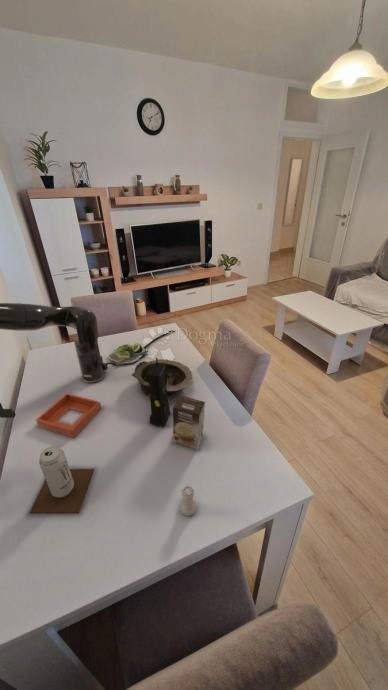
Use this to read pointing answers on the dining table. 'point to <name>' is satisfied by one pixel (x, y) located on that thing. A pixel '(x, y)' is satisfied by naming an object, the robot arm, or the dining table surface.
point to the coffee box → (188, 422)
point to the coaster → (67, 503)
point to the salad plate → (127, 353)
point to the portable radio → (158, 394)
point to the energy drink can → (56, 471)
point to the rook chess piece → (187, 501)
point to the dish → (62, 406)
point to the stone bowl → (175, 375)
